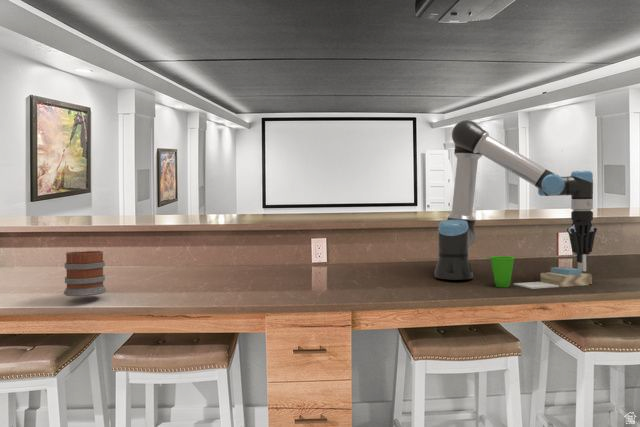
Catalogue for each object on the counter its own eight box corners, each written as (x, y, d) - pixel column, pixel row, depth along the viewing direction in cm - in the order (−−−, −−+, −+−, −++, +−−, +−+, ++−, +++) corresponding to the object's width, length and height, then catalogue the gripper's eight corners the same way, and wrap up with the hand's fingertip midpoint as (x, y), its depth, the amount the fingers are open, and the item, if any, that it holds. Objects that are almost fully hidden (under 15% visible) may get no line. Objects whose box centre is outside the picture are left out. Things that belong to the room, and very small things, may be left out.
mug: (55, 296, 172) (55, 253, 172) (81, 288, 192) (80, 249, 191) (96, 296, 173) (96, 253, 173) (117, 287, 192) (117, 248, 192)
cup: (488, 287, 185) (488, 257, 185) (491, 283, 194) (490, 255, 194) (514, 288, 182) (514, 258, 182) (515, 285, 190) (515, 256, 190)
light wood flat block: (560, 287, 185) (560, 276, 185) (540, 283, 194) (540, 273, 194) (591, 284, 189) (591, 274, 189) (571, 281, 199) (571, 271, 199)
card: (568, 275, 187) (568, 270, 187) (550, 272, 195) (550, 267, 195) (581, 274, 188) (581, 269, 188) (563, 271, 197) (563, 266, 197)
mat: (532, 288, 181) (532, 287, 181) (513, 284, 191) (513, 283, 191) (559, 287, 185) (559, 285, 185) (539, 283, 194) (539, 281, 194)
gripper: (576, 210, 189) (576, 272, 189) (603, 210, 193) (603, 271, 193) (561, 210, 196) (561, 270, 196) (587, 210, 200) (587, 269, 200)
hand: (582, 270), depth 194 cm, fingers closed
